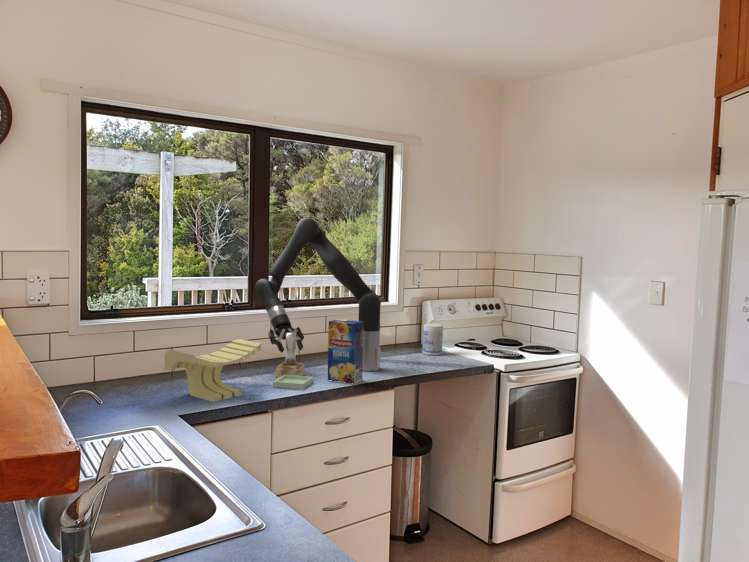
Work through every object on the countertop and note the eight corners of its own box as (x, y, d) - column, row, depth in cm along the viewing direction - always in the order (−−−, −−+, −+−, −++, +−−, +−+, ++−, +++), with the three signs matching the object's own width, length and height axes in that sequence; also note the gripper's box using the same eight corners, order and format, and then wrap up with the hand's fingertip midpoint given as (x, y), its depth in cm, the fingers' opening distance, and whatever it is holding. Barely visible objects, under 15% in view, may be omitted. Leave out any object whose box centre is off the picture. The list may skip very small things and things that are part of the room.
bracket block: (304, 374, 255) (304, 362, 255) (296, 379, 246) (296, 367, 246) (283, 373, 257) (284, 361, 257) (275, 378, 248) (275, 365, 248)
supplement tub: (419, 354, 303) (420, 325, 302) (426, 351, 312) (427, 322, 311) (437, 356, 299) (438, 326, 298) (444, 353, 307) (445, 324, 306)
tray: (313, 382, 243) (313, 376, 243) (302, 389, 231) (302, 384, 231) (284, 379, 246) (284, 374, 246) (272, 387, 234) (272, 381, 234)
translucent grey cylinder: (296, 366, 253) (297, 332, 252) (293, 368, 249) (293, 334, 248) (287, 365, 254) (288, 331, 253) (283, 367, 250) (284, 333, 249)
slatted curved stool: (233, 383, 239) (233, 337, 237) (260, 390, 229) (261, 343, 228) (164, 398, 216) (164, 348, 214) (191, 407, 206) (191, 354, 204)
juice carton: (362, 380, 248) (363, 321, 246) (354, 384, 241) (355, 323, 239) (336, 376, 253) (337, 319, 251) (327, 380, 246) (328, 321, 244)
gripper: (266, 314, 251) (279, 346, 243) (297, 312, 260) (310, 343, 252) (260, 325, 256) (273, 357, 248) (290, 322, 264) (304, 353, 256)
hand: (292, 350), depth 250 cm, fingers open, 8 cm apart
